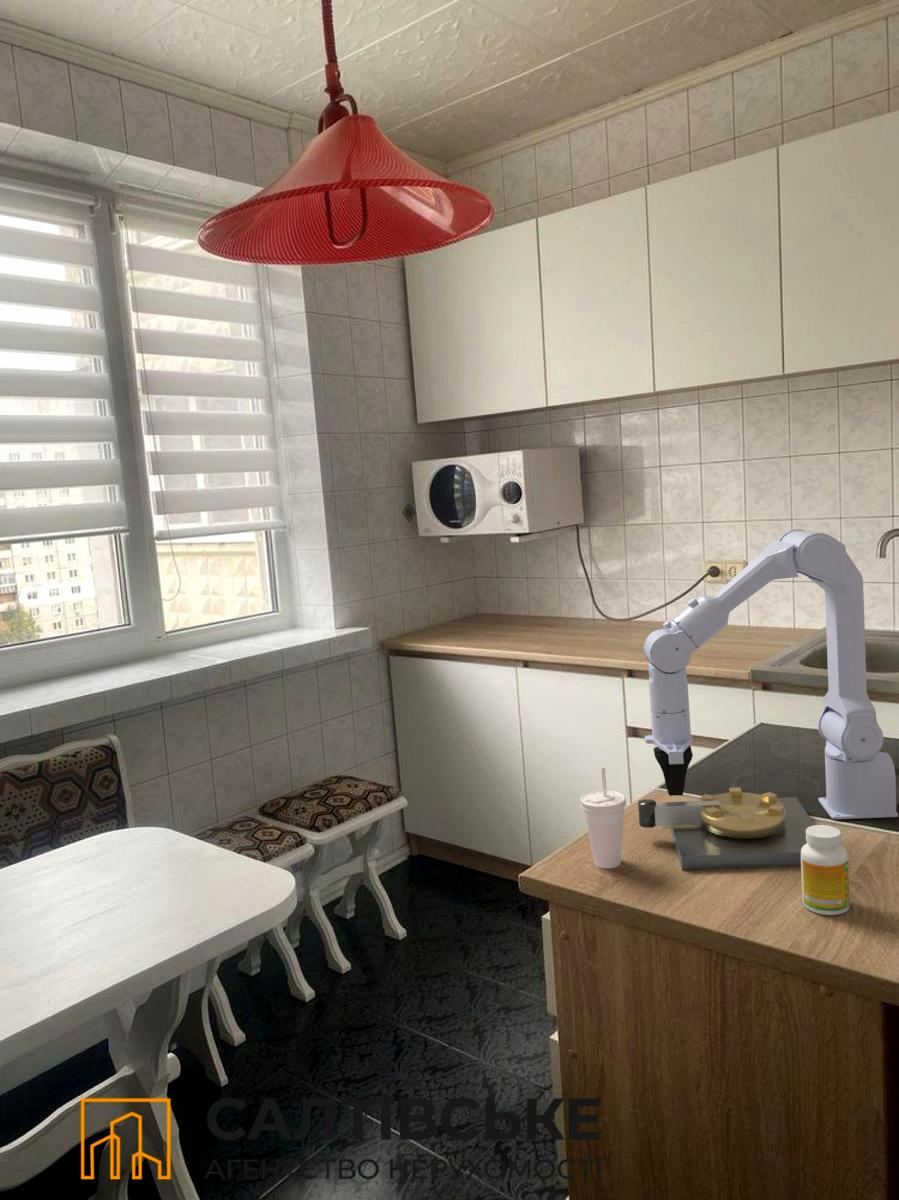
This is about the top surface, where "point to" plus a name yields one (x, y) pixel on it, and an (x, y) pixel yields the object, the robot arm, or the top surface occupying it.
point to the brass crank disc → (720, 814)
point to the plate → (744, 844)
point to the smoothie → (604, 824)
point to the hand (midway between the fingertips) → (675, 794)
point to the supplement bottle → (825, 871)
